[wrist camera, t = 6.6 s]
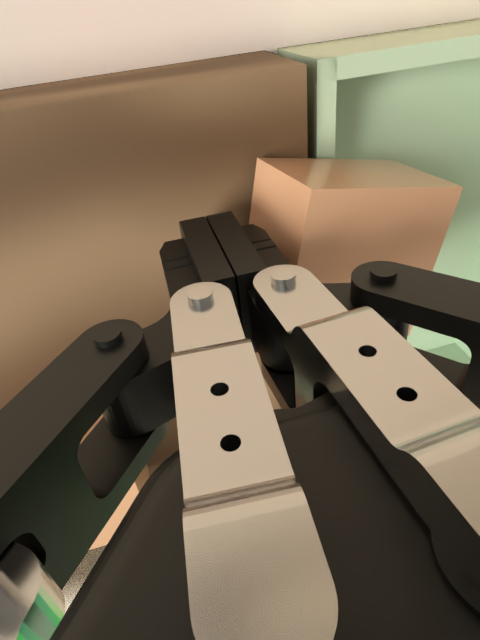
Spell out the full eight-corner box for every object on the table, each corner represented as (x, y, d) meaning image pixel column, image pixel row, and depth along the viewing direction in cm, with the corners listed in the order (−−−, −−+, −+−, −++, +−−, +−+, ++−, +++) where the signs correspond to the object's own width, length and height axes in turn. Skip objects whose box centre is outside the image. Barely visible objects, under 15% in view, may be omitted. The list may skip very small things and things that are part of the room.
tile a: (257, 157, 13) (311, 188, 11) (393, 159, 15) (463, 186, 13) (238, 308, 16) (278, 358, 13) (356, 292, 18) (409, 335, 15)
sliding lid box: (-192, 118, 13) (-282, 156, 10) (264, 50, 15) (306, 64, 12) (20, 454, 23) (7, 528, 20) (283, 386, 25) (310, 443, 22)
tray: (277, 48, 15) (317, 59, 13) (535, 10, 17) (622, 12, 14) (292, 384, 25) (316, 432, 22) (456, 342, 26) (497, 382, 24)
